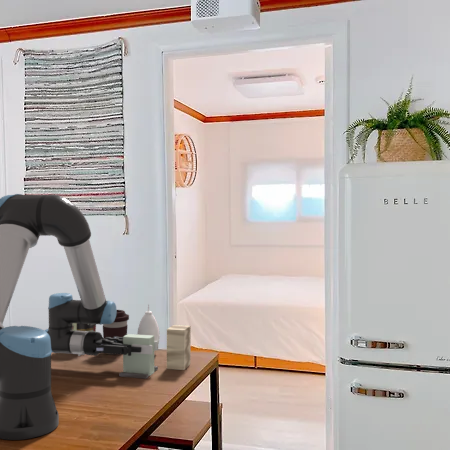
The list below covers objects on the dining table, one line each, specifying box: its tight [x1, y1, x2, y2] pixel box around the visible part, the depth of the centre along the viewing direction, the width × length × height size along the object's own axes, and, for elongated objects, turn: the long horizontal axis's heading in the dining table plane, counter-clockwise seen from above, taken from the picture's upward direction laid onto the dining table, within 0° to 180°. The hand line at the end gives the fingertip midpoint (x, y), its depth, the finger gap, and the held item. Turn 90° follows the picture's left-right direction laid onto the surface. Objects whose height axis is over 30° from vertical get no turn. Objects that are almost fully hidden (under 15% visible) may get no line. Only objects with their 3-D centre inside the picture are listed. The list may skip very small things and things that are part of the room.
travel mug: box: [102, 309, 130, 355], centre depth 197 cm, size 10×10×15 cm
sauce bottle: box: [137, 303, 161, 352], centre depth 195 cm, size 8×8×18 cm
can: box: [72, 323, 97, 332], centre depth 202 cm, size 10×10×14 cm
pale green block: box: [122, 333, 155, 377], centre depth 172 cm, size 4×9×12 cm, turn 77°
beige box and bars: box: [118, 324, 192, 380], centre depth 175 cm, size 18×18×13 cm
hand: (154, 347), depth 171 cm, fingers open, 5 cm apart
